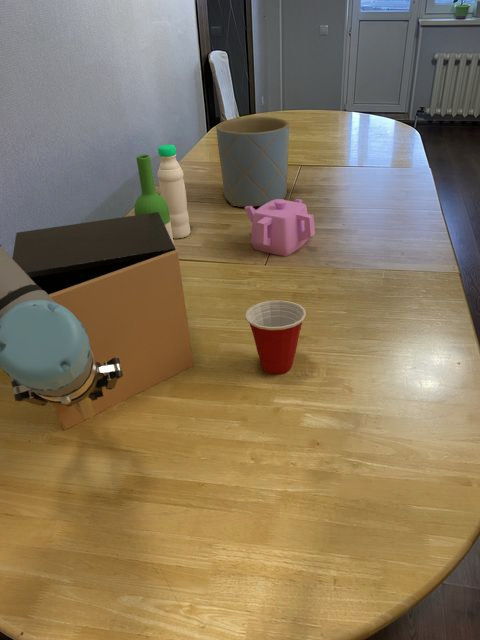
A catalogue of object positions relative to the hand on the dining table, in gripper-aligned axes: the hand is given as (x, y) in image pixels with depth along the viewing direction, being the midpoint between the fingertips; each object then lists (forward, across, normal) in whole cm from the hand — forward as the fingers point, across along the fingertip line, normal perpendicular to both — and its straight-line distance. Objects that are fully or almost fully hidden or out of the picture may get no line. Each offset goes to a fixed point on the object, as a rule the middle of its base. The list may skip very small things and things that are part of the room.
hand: (80, 394), depth 81 cm
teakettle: (+45, +57, +35) cm, 81 cm away
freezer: (+21, +8, +10) cm, 24 cm away
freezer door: (+8, +9, -3) cm, 12 cm away
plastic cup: (+9, +35, -2) cm, 36 cm away
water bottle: (+58, +32, +48) cm, 82 cm away
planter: (+71, +64, +61) cm, 113 cm away
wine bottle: (+39, +22, +28) cm, 53 cm away
